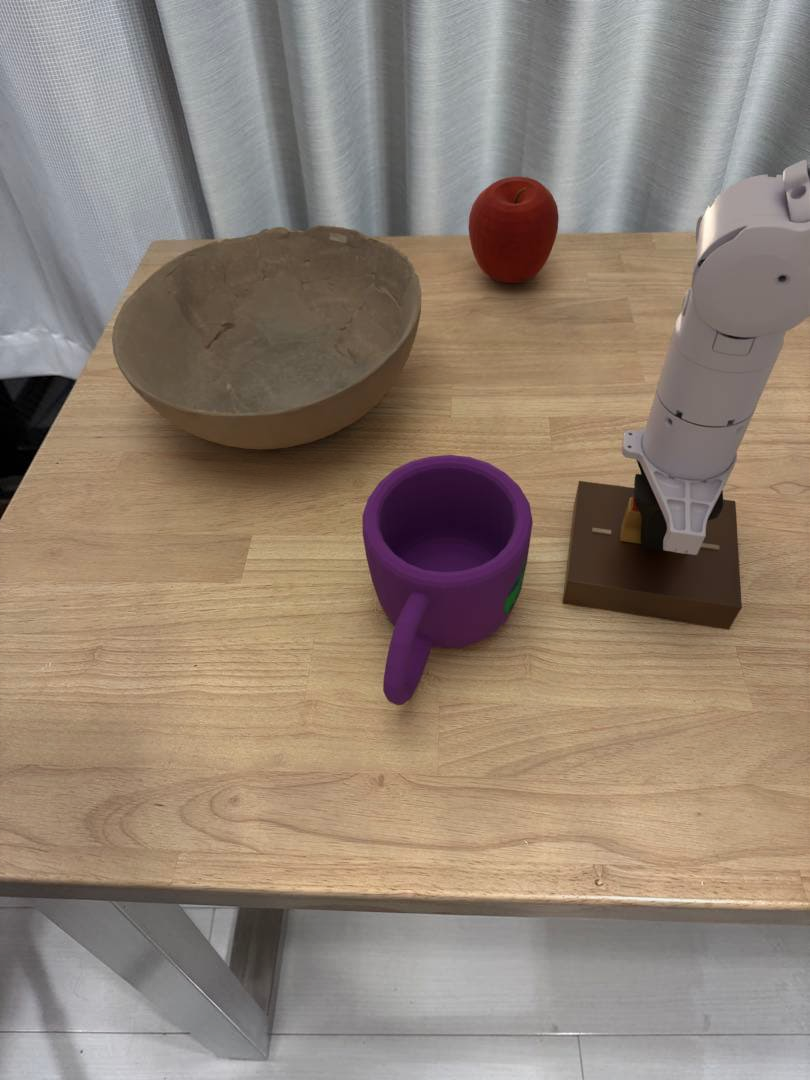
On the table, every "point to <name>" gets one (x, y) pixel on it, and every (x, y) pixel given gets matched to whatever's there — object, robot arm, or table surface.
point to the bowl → (271, 334)
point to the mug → (443, 558)
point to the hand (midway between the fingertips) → (655, 535)
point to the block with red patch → (631, 524)
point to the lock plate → (650, 565)
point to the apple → (513, 229)
